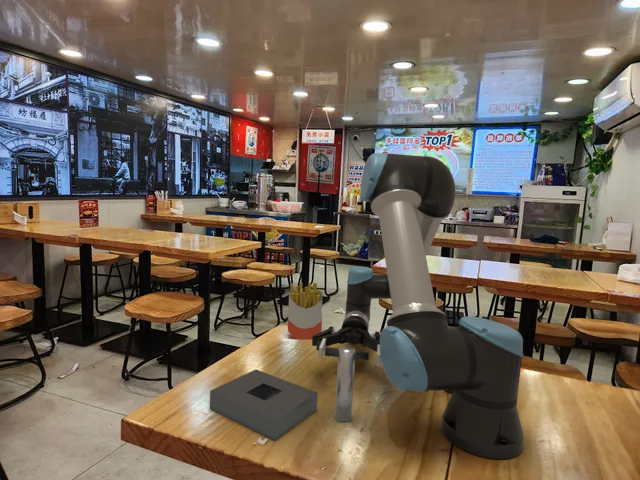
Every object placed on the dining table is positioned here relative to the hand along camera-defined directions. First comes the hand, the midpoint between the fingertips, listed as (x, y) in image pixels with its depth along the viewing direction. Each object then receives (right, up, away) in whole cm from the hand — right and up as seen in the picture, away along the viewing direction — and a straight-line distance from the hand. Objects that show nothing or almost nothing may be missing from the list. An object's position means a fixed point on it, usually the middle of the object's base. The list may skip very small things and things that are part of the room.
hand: (349, 357), depth 93 cm
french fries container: (-12, -5, +39) cm, 41 cm away
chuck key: (-2, -10, -9) cm, 14 cm away
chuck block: (-19, -9, -7) cm, 22 cm away
